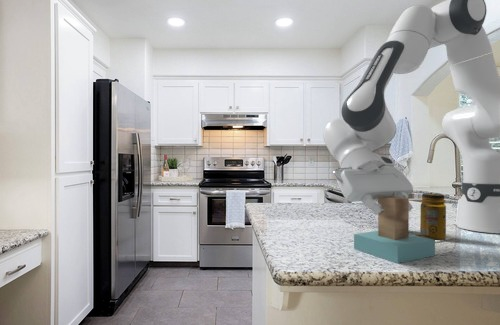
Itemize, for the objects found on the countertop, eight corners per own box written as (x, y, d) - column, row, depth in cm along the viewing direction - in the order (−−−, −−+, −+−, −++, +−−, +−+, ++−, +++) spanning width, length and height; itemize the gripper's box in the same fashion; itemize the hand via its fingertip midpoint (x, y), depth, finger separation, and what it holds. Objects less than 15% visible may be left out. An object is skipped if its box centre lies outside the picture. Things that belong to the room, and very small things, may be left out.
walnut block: (391, 233, 75) (391, 196, 75) (408, 237, 71) (408, 198, 71) (378, 235, 73) (378, 197, 73) (394, 240, 69) (394, 199, 69)
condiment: (452, 238, 85) (452, 194, 85) (436, 243, 81) (436, 196, 81) (425, 233, 92) (425, 192, 92) (409, 237, 87) (409, 193, 87)
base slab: (389, 243, 80) (389, 229, 80) (434, 255, 70) (434, 239, 70) (353, 248, 75) (353, 234, 75) (397, 263, 64) (397, 246, 64)
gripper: (336, 158, 74) (369, 205, 65) (396, 159, 83) (432, 200, 74) (324, 177, 78) (353, 223, 69) (382, 175, 87) (415, 216, 78)
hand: (395, 211), depth 72 cm, fingers open, 8 cm apart
